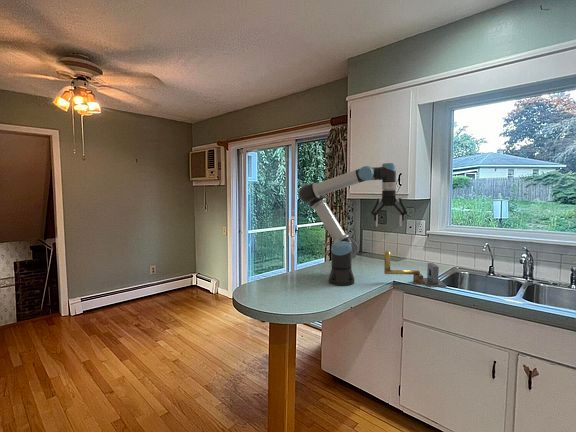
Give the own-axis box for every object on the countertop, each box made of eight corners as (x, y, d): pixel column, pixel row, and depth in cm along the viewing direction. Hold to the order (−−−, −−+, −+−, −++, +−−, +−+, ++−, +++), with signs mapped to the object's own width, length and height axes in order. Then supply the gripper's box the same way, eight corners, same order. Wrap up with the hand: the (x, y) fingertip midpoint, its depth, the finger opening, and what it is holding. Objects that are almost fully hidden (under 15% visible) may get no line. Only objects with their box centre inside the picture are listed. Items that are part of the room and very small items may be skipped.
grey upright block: (427, 286, 176) (428, 267, 175) (419, 279, 190) (420, 261, 189) (446, 286, 175) (446, 268, 174) (436, 279, 189) (437, 262, 188)
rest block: (415, 283, 181) (416, 275, 180) (413, 281, 186) (413, 273, 185) (423, 283, 180) (423, 276, 180) (420, 281, 185) (420, 273, 185)
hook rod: (384, 274, 183) (385, 252, 182) (383, 273, 186) (383, 251, 185) (420, 275, 181) (420, 252, 180) (418, 273, 184) (418, 251, 183)
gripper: (367, 190, 182) (367, 227, 184) (412, 189, 178) (412, 226, 180) (366, 190, 189) (366, 225, 191) (409, 189, 186) (409, 225, 188)
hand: (388, 226), depth 186 cm, fingers open, 13 cm apart
